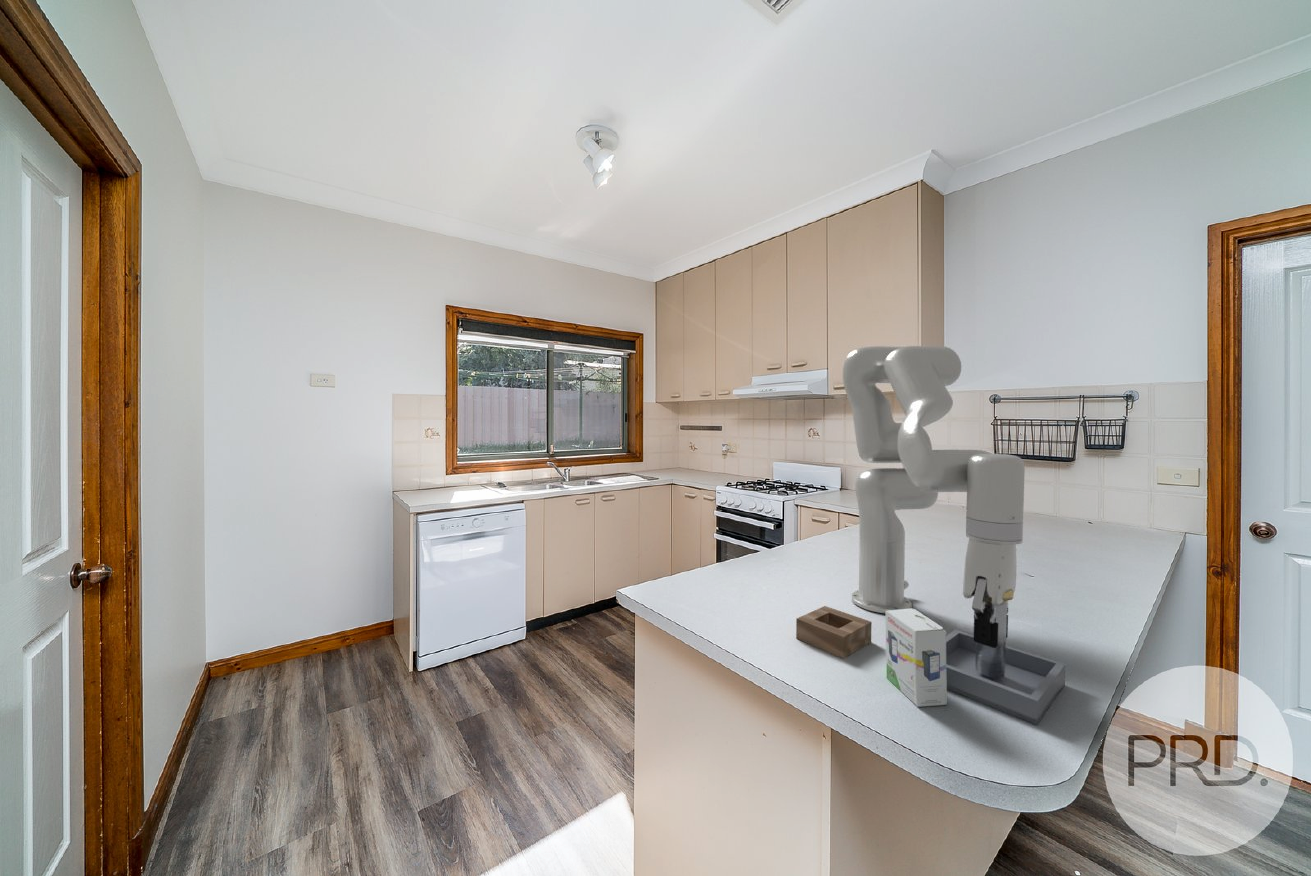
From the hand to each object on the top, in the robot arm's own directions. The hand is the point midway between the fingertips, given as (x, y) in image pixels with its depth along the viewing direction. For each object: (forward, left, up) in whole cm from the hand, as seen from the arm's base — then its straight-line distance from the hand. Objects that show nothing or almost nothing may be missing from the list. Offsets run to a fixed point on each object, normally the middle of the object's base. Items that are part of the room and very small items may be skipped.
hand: (990, 638), depth 78 cm
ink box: (+13, -6, -7) cm, 16 cm away
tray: (0, 0, -7) cm, 7 cm away
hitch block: (+7, -24, -7) cm, 26 cm away
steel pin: (0, 0, -5) cm, 5 cm away
